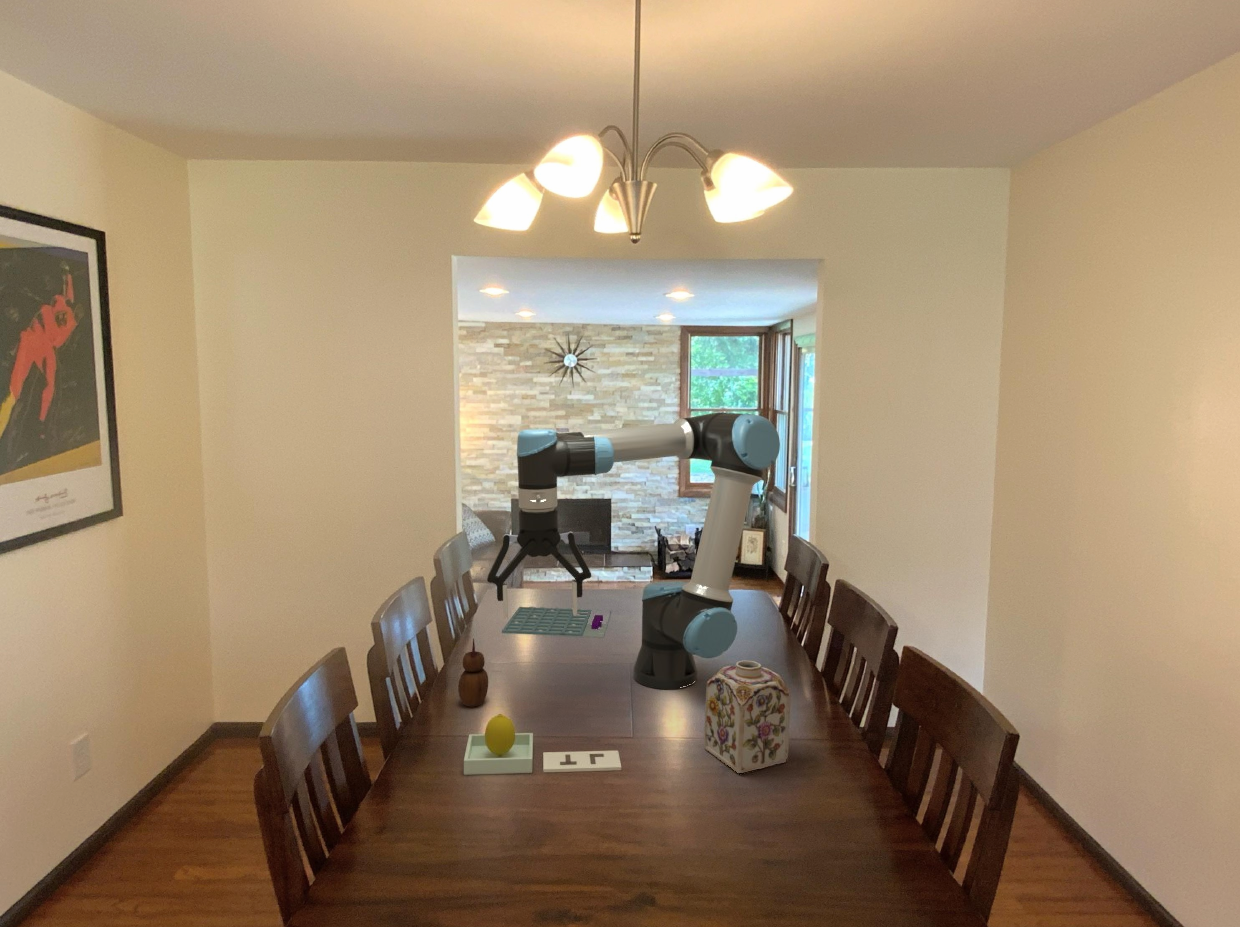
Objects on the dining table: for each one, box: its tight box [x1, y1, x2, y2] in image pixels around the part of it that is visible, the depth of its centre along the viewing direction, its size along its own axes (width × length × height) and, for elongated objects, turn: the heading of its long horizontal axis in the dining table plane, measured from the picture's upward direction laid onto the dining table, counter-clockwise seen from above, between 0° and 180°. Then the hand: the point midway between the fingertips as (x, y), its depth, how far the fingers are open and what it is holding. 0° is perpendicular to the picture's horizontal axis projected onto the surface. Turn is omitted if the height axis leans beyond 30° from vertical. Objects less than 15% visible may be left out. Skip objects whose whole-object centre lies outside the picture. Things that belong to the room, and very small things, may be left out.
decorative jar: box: [703, 660, 791, 774], centre depth 145 cm, size 12×12×18 cm
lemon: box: [484, 713, 516, 756], centre depth 142 cm, size 6×6×8 cm
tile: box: [542, 750, 622, 773], centre depth 142 cm, size 14×6×1 cm, turn 96°
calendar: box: [501, 606, 609, 638], centre depth 228 cm, size 27×29×2 cm
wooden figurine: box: [457, 638, 489, 708], centre depth 167 cm, size 7×6×15 cm
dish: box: [463, 732, 534, 776], centre depth 142 cm, size 12×10×3 cm
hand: (540, 614), depth 153 cm, fingers open, 13 cm apart
